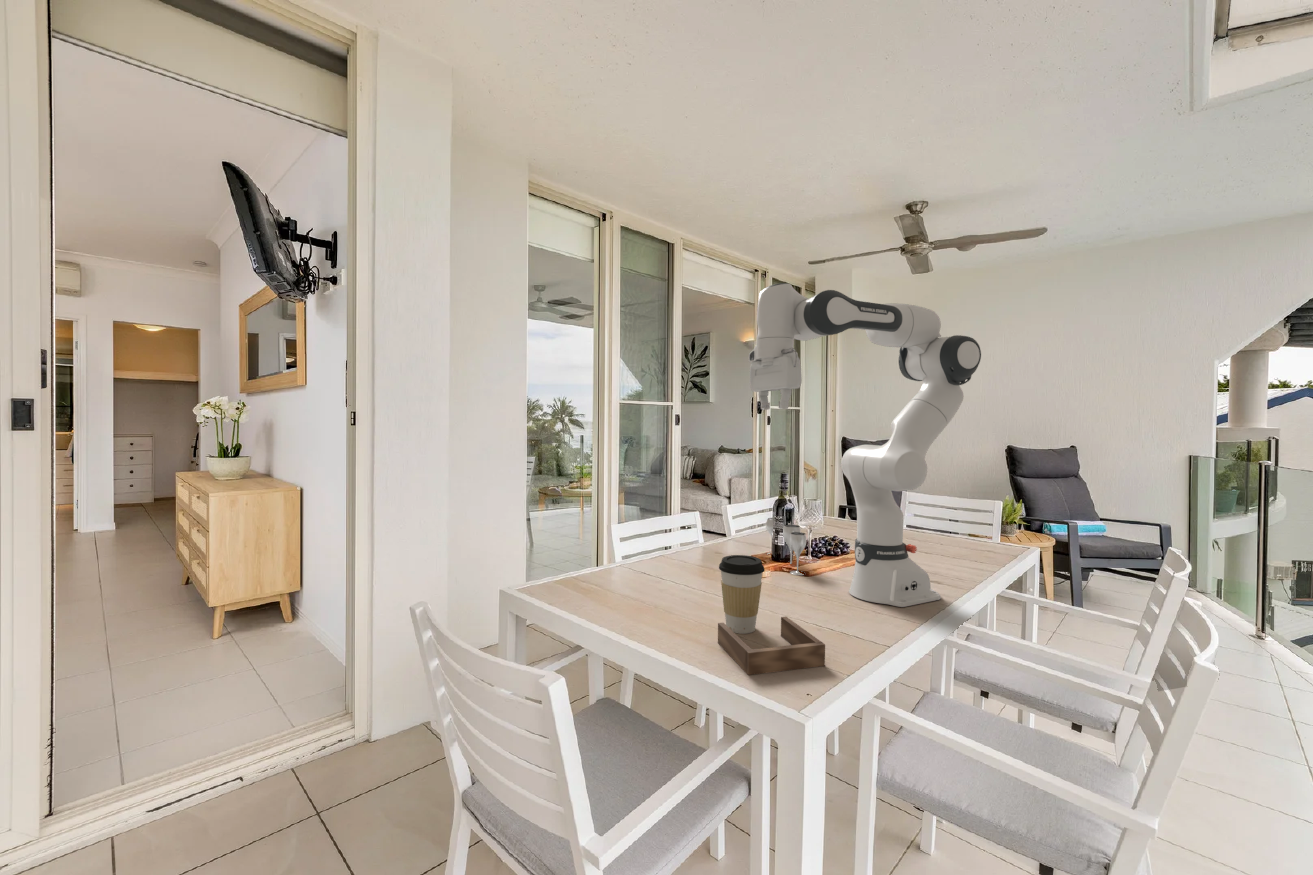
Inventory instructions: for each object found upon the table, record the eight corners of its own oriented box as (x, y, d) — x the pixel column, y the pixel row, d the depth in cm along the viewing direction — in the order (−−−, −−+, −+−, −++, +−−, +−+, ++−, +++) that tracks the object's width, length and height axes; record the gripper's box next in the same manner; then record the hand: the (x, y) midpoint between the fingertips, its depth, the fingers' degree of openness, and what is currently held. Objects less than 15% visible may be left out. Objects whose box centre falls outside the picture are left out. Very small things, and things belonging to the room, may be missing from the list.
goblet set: (809, 575, 161) (810, 530, 161) (790, 575, 161) (791, 530, 160) (779, 552, 189) (780, 513, 188) (763, 552, 188) (763, 513, 188)
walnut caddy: (785, 635, 116) (786, 616, 116) (824, 665, 102) (825, 644, 102) (717, 642, 112) (718, 622, 112) (748, 675, 98) (748, 652, 98)
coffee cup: (754, 618, 126) (755, 553, 125) (770, 635, 116) (771, 565, 115) (712, 620, 124) (713, 555, 123) (725, 638, 114) (726, 566, 114)
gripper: (809, 347, 124) (808, 408, 124) (767, 356, 143) (767, 410, 144) (783, 346, 122) (782, 408, 122) (745, 356, 142) (744, 409, 142)
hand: (774, 409), depth 133 cm, fingers open, 8 cm apart
